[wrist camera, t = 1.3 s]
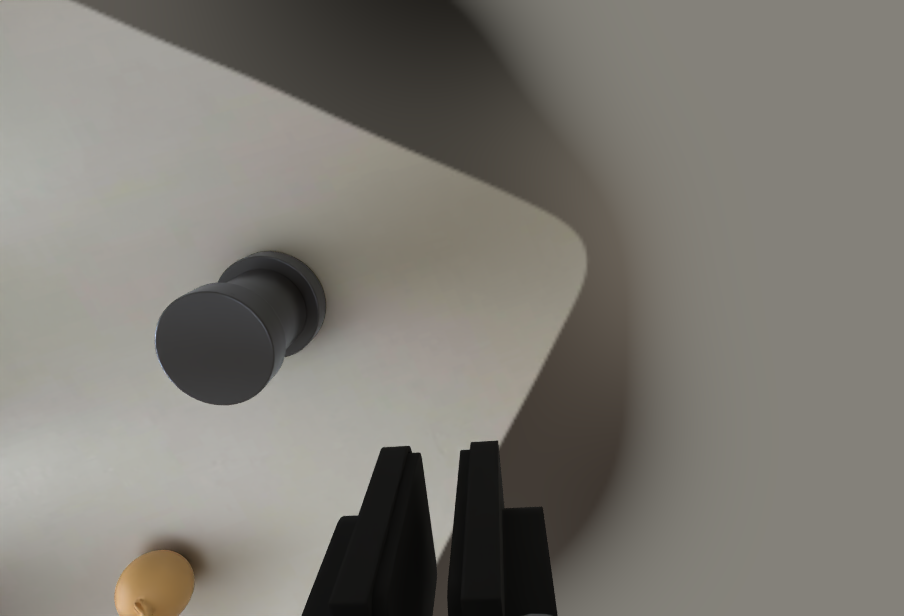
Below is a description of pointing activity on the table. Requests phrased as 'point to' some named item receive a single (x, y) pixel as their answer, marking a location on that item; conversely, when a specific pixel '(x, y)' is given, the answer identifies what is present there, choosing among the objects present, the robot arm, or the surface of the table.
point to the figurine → (155, 585)
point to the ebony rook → (240, 328)
